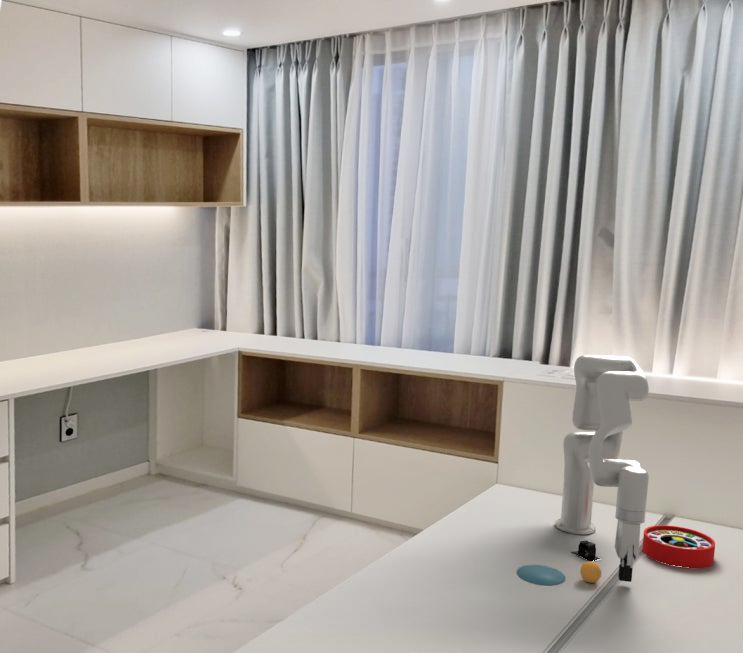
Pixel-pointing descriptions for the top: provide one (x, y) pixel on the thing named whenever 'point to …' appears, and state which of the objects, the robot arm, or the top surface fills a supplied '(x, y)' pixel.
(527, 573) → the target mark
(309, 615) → the top surface
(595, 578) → the ball
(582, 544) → the black boxy piece
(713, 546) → the toy clock
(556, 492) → the top surface
